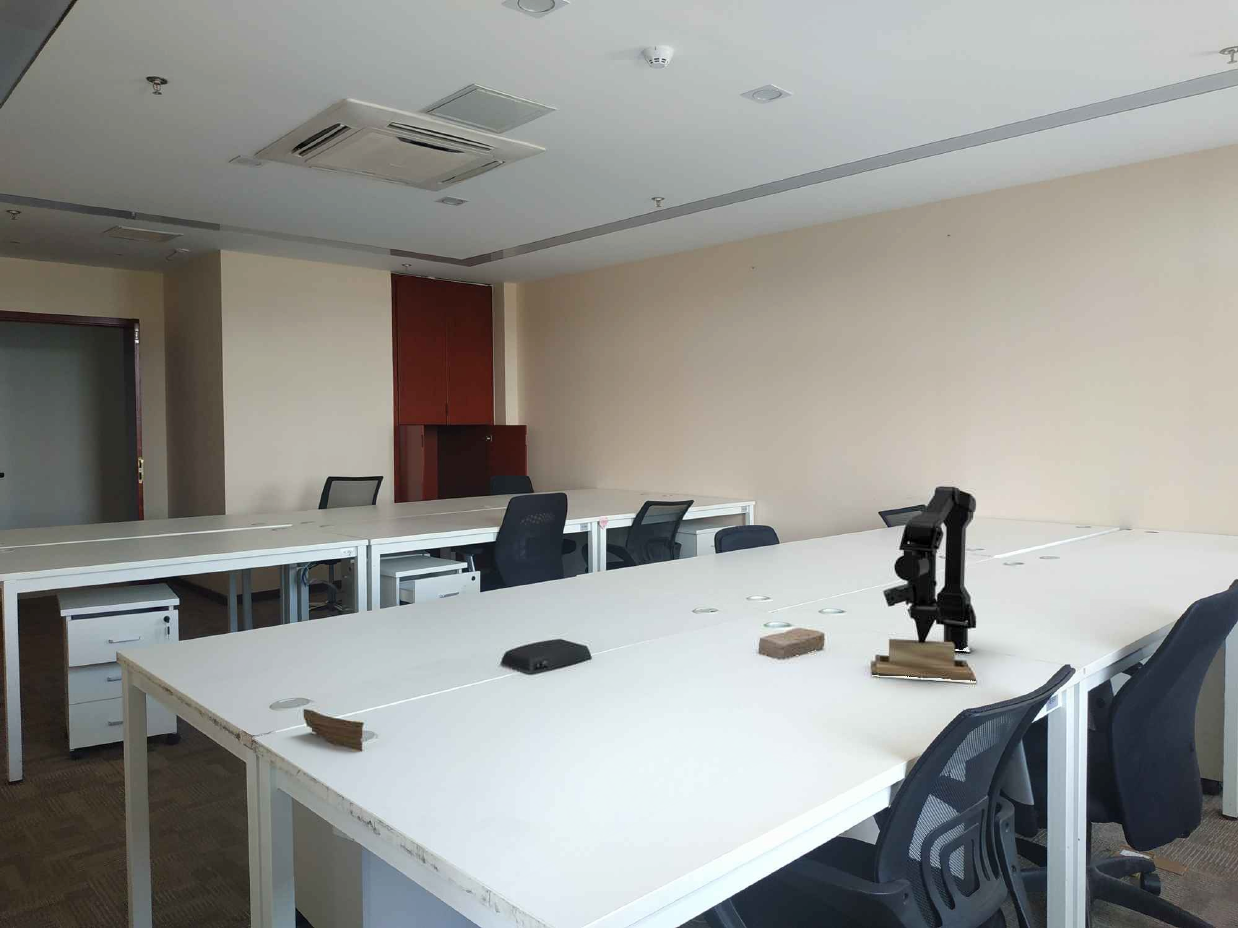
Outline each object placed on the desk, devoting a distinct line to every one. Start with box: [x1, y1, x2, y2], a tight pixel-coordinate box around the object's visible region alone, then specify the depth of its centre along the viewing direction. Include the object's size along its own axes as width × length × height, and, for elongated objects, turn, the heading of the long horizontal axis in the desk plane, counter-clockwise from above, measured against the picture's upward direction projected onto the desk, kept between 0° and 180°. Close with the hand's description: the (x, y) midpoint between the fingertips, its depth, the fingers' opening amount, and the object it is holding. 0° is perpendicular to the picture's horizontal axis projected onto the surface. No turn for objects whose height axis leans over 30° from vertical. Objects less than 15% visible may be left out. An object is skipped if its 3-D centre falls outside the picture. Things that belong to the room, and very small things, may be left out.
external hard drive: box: [500, 638, 593, 676], centre depth 207 cm, size 13×19×4 cm
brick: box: [758, 627, 826, 661], centre depth 216 cm, size 17×8×5 cm, turn 128°
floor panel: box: [870, 654, 977, 682], centre depth 196 cm, size 10×22×2 cm, turn 75°
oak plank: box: [888, 638, 956, 667], centre depth 197 cm, size 4×14×6 cm, turn 75°
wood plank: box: [302, 708, 365, 752], centre depth 155 cm, size 15×2×5 cm, turn 58°
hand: (921, 642), depth 197 cm, fingers closed, pressing on oak plank
